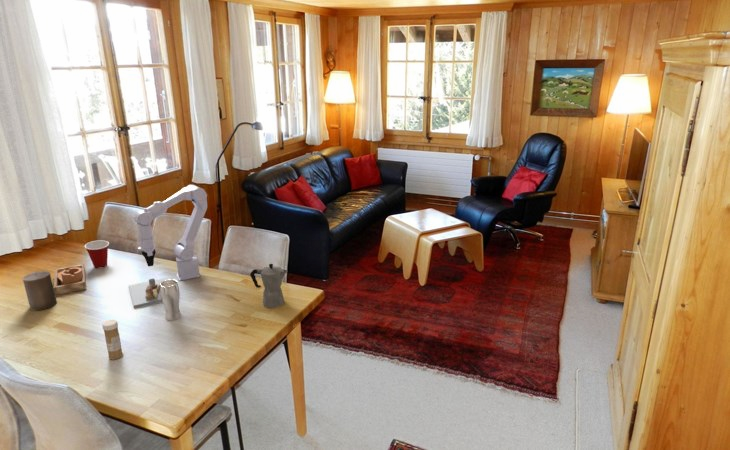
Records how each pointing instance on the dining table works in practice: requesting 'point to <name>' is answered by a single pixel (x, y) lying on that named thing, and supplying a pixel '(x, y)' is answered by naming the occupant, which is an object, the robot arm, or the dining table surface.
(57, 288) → the parts corral
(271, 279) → the coffeepot
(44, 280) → the pillar candle
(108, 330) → the sprinkles bottle
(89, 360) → the dining table surface
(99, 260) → the plastic cup
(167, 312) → the beer glass
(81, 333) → the dining table surface
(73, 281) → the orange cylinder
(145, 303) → the base board
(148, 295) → the brown wooden blocky piece
